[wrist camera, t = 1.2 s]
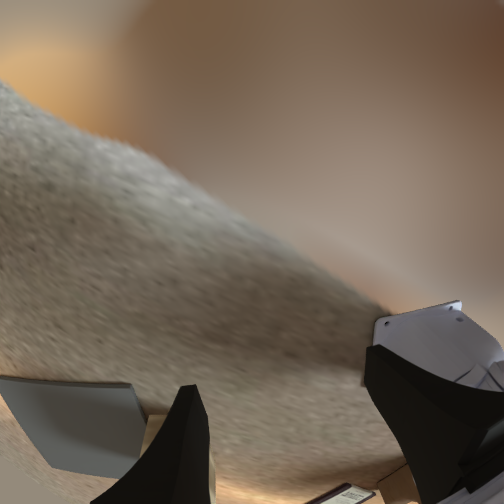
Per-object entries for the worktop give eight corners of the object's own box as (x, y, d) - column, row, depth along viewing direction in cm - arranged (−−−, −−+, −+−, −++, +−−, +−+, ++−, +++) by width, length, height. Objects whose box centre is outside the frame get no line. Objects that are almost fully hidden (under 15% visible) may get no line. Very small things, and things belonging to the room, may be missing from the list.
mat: (131, 384, 24) (130, 388, 24) (175, 478, 29) (175, 482, 29) (-6, 374, 23) (-9, 377, 23) (53, 464, 28) (51, 467, 28)
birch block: (200, 413, 26) (195, 526, 14) (215, 460, 28) (216, 554, 17) (149, 414, 26) (127, 521, 14) (170, 461, 28) (161, 552, 17)
